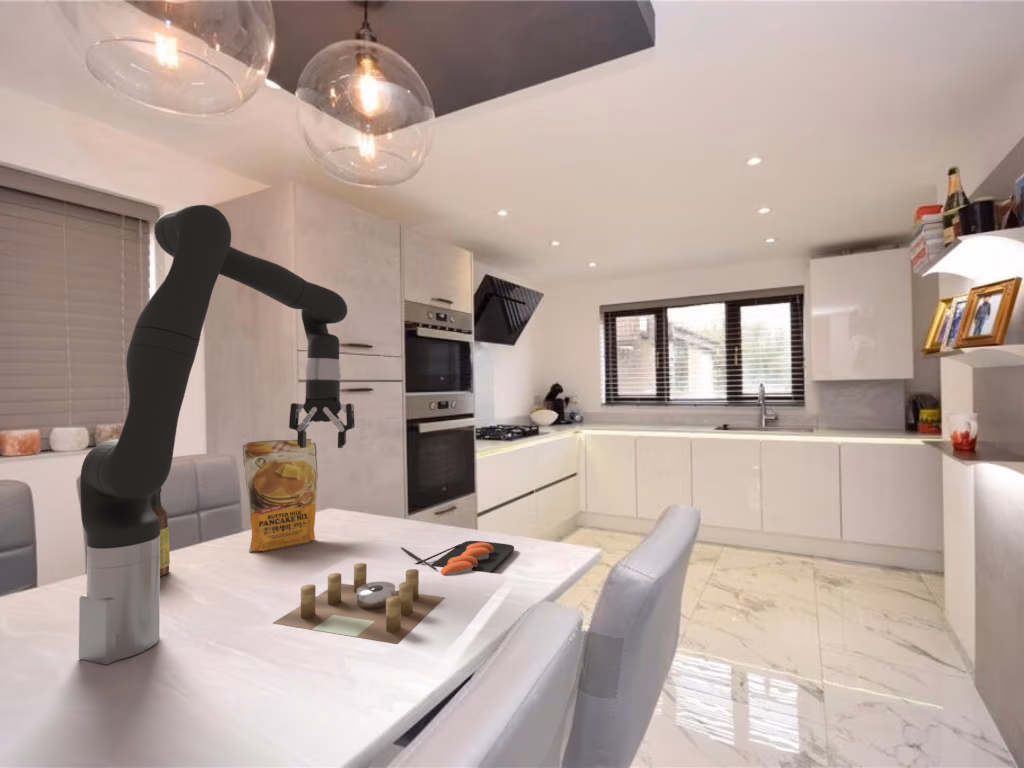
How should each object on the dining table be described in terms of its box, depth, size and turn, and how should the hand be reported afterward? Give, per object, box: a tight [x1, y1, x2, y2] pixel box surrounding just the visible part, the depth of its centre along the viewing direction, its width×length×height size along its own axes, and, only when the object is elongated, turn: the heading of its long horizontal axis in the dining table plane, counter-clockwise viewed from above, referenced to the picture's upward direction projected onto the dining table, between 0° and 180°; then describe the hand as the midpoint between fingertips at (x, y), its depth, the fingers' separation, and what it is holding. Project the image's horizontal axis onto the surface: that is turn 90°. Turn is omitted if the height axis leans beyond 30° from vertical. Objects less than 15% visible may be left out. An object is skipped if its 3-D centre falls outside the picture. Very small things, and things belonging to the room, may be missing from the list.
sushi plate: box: [400, 540, 515, 576], centre depth 117 cm, size 29×30×4 cm
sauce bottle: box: [148, 487, 171, 577], centre depth 109 cm, size 7×6×20 cm
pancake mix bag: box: [242, 438, 318, 552], centre depth 130 cm, size 7×19×28 cm, turn 129°
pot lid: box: [357, 581, 396, 610], centre depth 92 cm, size 7×7×3 cm
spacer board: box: [272, 562, 446, 645], centre depth 89 cm, size 18×24×6 cm
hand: (321, 447), depth 114 cm, fingers open, 8 cm apart
